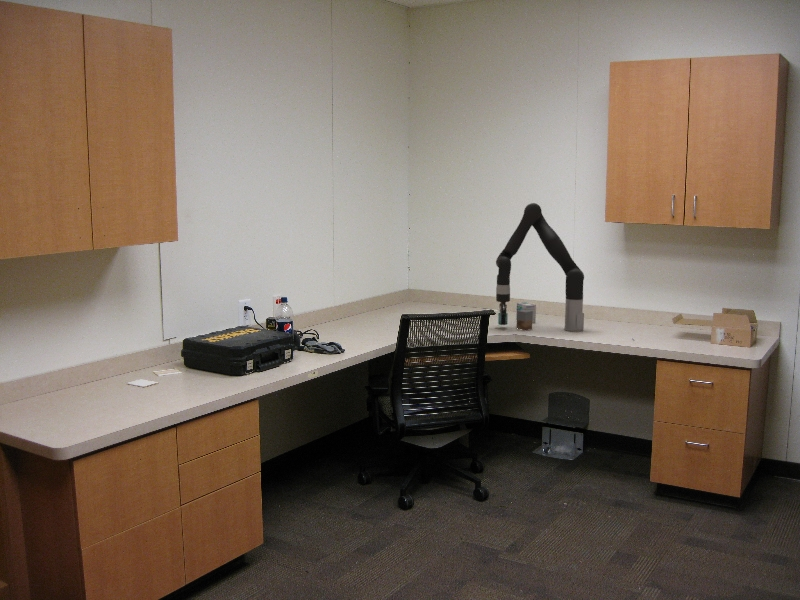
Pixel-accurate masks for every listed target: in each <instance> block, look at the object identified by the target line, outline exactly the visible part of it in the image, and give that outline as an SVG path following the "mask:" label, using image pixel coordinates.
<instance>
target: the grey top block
mask: <svg viewBox="0 0 800 600" xmlns="http://www.w3.org/2000/svg"><path fill="white" fill-rule="evenodd" d="M516 313H517V320H520V321H530V320H533V311H529V310H519V311H517V310H516Z"/></svg>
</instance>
